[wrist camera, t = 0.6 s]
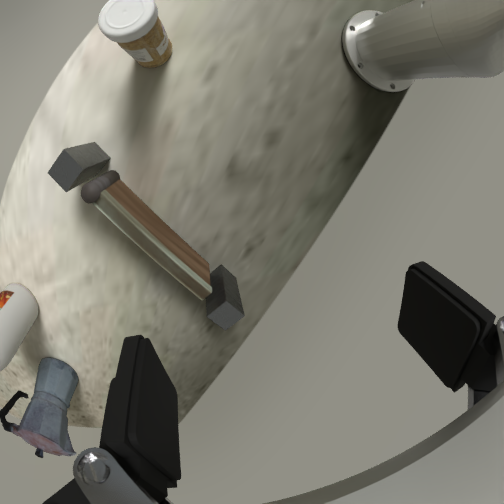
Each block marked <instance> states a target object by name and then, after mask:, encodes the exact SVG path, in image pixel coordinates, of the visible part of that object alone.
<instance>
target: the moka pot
mask: <svg viewBox="0 0 504 504" xmlns="http://www.w3.org/2000/svg"><path fill="white" fill-rule="evenodd" d="M77 383H78V376H77V374H76V372H75V371H74V370H73V369H72V368H71V367H70V366H69V365H67V364H66V363H64V362H63V361H60V360H57V359H55V358H44V359H42V360H41V362H40V364H39V368H38V373H37V378H36V384H35V389H34V395H33V397H32V398H31V402H30V403H29V405H28V407H27V409H26V411H25V414H24V416H23V418H22V420H21V423H20V425H16V424H14V423H9V422H7V421H6V419H5V415H7V414H8V412H9V410H10V409H11V408H12V407H13V406H14V404H15V402H16V401H17V400H18V399H19V398H20V397H24V398H26V399H27V398H28V394H26V393H24V392H21V391H18V392H17V393H16V394H15V395H14V396H13V397H12V398H11V399H10V400H9V402H8V403H7V404H6V405H5V406H4V407H3V409H1V411H0V419H1V422H2V424H3V427H4V429H5V430H6V431H9V432H13V433H14V434H15V435H17V436H20V437H22V438H23V439H24V440H25V441H26V442H27V443H29V444H30V445H32V446H34V447H36V448H37V449H36V452H35V455H37V456H38V457H41V458H43V451H44V452H47V453H51V454H54V455H58V456H60V455H65V456H71V455H75V454H76V452H74V450H73V448H72V444H71V441H70V437H69V434H68V430H67V427H68V418H67V416H66V415H67V408H69V407H70V404H69V403H70V401H71V398H72V396H73V393H74V391H75V388H76V386H77Z"/></svg>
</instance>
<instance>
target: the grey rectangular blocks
mask: <svg viewBox="0 0 504 504" xmlns="http://www.w3.org/2000/svg"><path fill="white" fill-rule="evenodd" d="M109 159H110V157H109V156H108V155H107V154H106V153H105V152H104V151H103V150H102V149H101V148H100V147H99V146H98V145H97V144H96V143H95V142H93V143H88V144H83V145H79V146H75V147H71V148H66V149H64V150H63V151H62V153H61V154H60V155H59V157H58V158H57V160H56V161H55V163H54V164H53V166H52V167H51V169H50V170H49V172H48V174H49V175H50V176H51V177H52V178H53V179H54V180H55V181H56V182H57V183H58V184H59V185H60V186H61V187H62V188H63V190H64V191H65V192H68V191H69V190H71V189H73V188H75V187H76V186H78V185H80V184H82V183H83V182H85V181H87V180H89V179H91V178H92V177H94V176H96V175H97V173H98V172H99V171H100V170H101V168H102V167H103V166H104V165H105V164H106V162H107V161H108V160H109ZM210 286H211V287H212V293H211V294H209V295H208V296H207V297H206V310H207V317H208V318H209V319H211V320H212V321H213V322H215V323H216V324H217V325H219V326H220V327H221V328H223V329H224V330H227V329H228V328H229V327H231V326H232V325H233V324H235V323H236V322H237V321H239V320H240V319H241V318H242V317H244V316H245V315H244V311H243V307H242V302H241V298H240V293H239V289H238V284H237V280H236V278H235V277H234V276H233V275H232V274H231V273H230V272H229V271H228V270H227V269H226V268H225V267H223V266H222V265H220V266H219V267H217V268H216V269H215V270H214V271H213V272H212V273H211V274H210Z"/></svg>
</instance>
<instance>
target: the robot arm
mask: <svg viewBox="0 0 504 504" xmlns="http://www.w3.org/2000/svg"><path fill="white" fill-rule="evenodd" d="M342 42H343V48H344V52H345V55H346V57H347V59H348V61H349V63H350V65H351V66H352V68H353V69H354V71H355V72H356V73H357V74H358V75H359V77H360V78H361V79H363V80H364V81H365V82H366V83H367V84H369V85H371V86H372V87H374V88H376V89H379V90H381V91H386V92H397V91H402V90H405V89H407V88H408V87H410V86H411V85H412V84H413V82H414V81H415V79H424V78H446V77H447V78H449V77H480V78H487V77H494V76H496V75H498V74H500V73H501V72H503V71H504V0H415V1H412V2H409V3H407V4H404V5H402V6H399V7H397V8H394V9H392V10H390V11H387V12H385V13H382V12H379V11H373V10H368V11H362V12H359V13H357V14H355V15H353V16H352V17H351V18H350V19H349V20H348V21H347V23H346V24H345V26H344V29H343V35H342ZM358 66H359V67H358ZM495 317H496V316H495V315H494V314H493V313H492V312H490V311H489V310H488V309H486V308H485V307H484V306H483V305H482V304H481V303H479V302H478V301H477V300H475V299H474V298H473V297H472V296H470V295H469V294H468V293H467V292H465V291H464V290H463V289H461V288H460V287H459V286H457V285H456V284H455V283H453V282H452V281H451V280H449V279H448V278H447V277H445V276H444V275H442V274H441V273H440V272H438V271H437V270H435V269H434V268H432V267H431V266H430V265H428V264H427V263H425V262H419V263H416V264H413V265H411V266H410V267H409V268H408V271H407V272H406V277H405V284H404V291H403V298H402V304H401V310H400V316H399V321H398V330H399V332H400V334H401V335H402V336H403V337H404V338H405V339H406V340H407V341H408V343H409V344H410V345H411V346H412V347H413V348H414V349H415V351H416V352H417V353H418V354H419V355H420V356H421V357H422V359H423V360H424V361H425V362H426V363H427V364H428V366H429V367H430V368H431V369H432V370H433V371H434V373H435V374H436V375H437V376H438V377H439V379H440V380H441V381H442V382H443V383H444V385H445V386H447V387H449V388H451V389H452V391H453V392H456V391H457V390H458V389H460V388H461V387H463V385H464V384H465V382H466V384H468V411H466V412H465V413H464V414H462V415H461V416H460V417H458V418H457V419H455V420H454V421H453V422H451V423H450V424H448V425H447V426H446V427H444V428H442V429H441V430H439V431H438V432H436V433H435V434H433V435H432V436H430V437H429V438H427V439H425V440H424V441H422V442H420V443H419V444H417V445H415V446H413V447H412V448H410V449H408V450H406V451H405V452H403V453H401V454H399V455H397V456H395V457H393V458H391V459H389V460H387V461H385V462H383V463H381V464H379V465H377V466H375V467H373V468H371V469H368V470H366V471H364V472H362V473H359V474H357V475H355V476H352V477H349V478H347V479H344V480H342V481H339V482H337V483H334V484H331V485H329V486H325V487H323V488H320V489H317V490H313V491H310V492H307V493H304V494H300V495H297V496H294V497H290V498H286V499H282V500H278V501H273V502H269V503H264V504H504V316H503V317H501V318H500V319H499V320H498V322H497V324H496V325H495V324H494V320H495ZM73 475H74V477H75V478H74V479H73V480H72V481H70V482H69V483H68V484H67V485H65V486H64V487H63V488H62V489H60V490H59V491H58V492H57V493H55V494H54V495H53V496H51V497H50V498H49V499H47V500H46V501H45V502H44V503H43V504H173V503H172V502H171V501H170V500H169V499H168V498H167V496H168V494H167V488H175V487H177V480H180V479H181V468H180V453H179V433H178V400H177V392H176V389H175V387H174V385H173V384H172V382H171V380H170V378H169V376H168V374H167V373H166V371H165V369H164V367H163V365H162V363H161V361H160V359H159V357H158V355H157V353H156V351H155V349H154V347H153V345H152V343H151V341H150V340H149V339H148V338H145V339H144V337H143V336H142V335H136V336H130V337H126V338H125V339H124V342H123V346H122V350H121V355H120V359H119V363H118V368H117V373H116V377H115V378H113V379H112V381H111V383H110V388H109V393H108V398H107V403H106V408H105V414H104V420H103V426H102V432H101V439H100V446H99V448H96V447H94V448H88V449H86V450H84V451H82V452H81V453H80V454H79V455H78V456H77V458H76V460H75V461H74V465H73Z"/></svg>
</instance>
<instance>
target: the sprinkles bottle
mask: <svg viewBox="0 0 504 504" xmlns="http://www.w3.org/2000/svg"><path fill="white" fill-rule="evenodd" d="M98 25H99V28H100V30H101V31H102V33H103V34H104V35H105V36H106V37H108V38H109V39H110V40H112V41H114V42H117V43H118V45H119V46H120V47H121V48H123V49H124V50H125V51H126V52H127V53H128V54H129V55H130V56H132V57H133V58H134V59H135V60H136V61H137V62H138V63H139V64H140V65H142V66H143V67H148V68H152V67H157V66H160V65H162V64H164V63H165V62H166V61H167V60H168V58H169V57H170V55H171V53H172V43H171V42H170V40H169V39H168V36H167V33H166V31H165V29H164V27H163V25H162V22H161V20H160V19H159V17H158V9H157V6H156V4H155V2H154V0H109V1H108V2H107V3H106V4H105V5H104V7H103V8H102V10H101V12H100V14H99V18H98Z"/></svg>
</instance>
